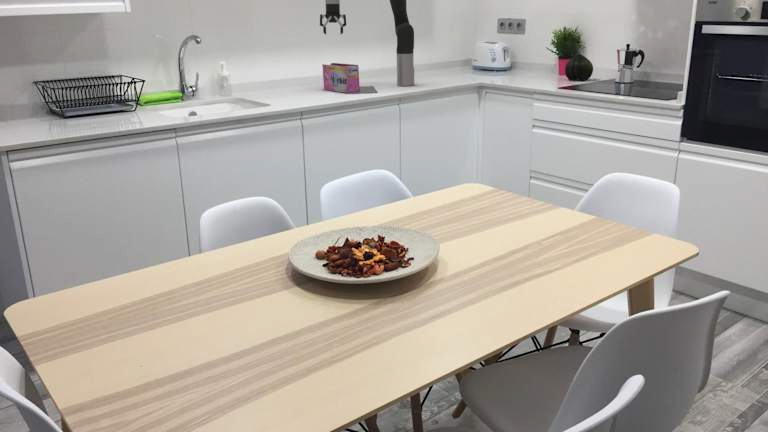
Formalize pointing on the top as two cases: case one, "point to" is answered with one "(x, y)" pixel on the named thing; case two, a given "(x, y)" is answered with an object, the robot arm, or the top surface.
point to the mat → (366, 90)
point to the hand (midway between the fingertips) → (333, 34)
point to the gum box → (341, 77)
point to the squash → (578, 68)
